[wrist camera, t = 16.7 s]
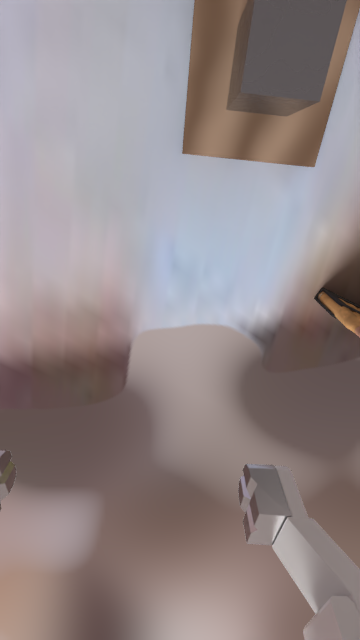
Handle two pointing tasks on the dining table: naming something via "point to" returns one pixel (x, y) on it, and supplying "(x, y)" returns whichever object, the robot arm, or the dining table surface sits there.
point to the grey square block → (283, 54)
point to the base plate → (243, 127)
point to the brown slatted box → (340, 309)
